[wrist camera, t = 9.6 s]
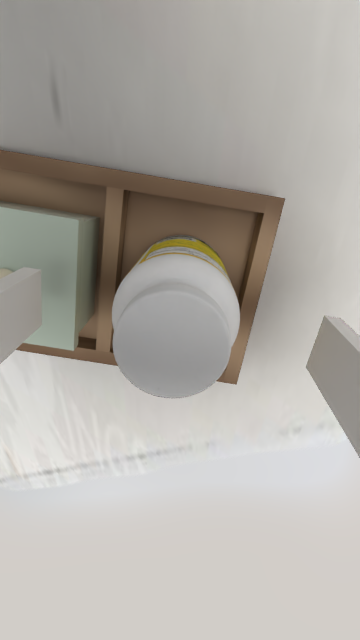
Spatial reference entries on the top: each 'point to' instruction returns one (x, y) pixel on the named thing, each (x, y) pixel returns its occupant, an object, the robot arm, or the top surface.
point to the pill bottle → (175, 318)
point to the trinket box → (53, 266)
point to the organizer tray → (148, 234)
